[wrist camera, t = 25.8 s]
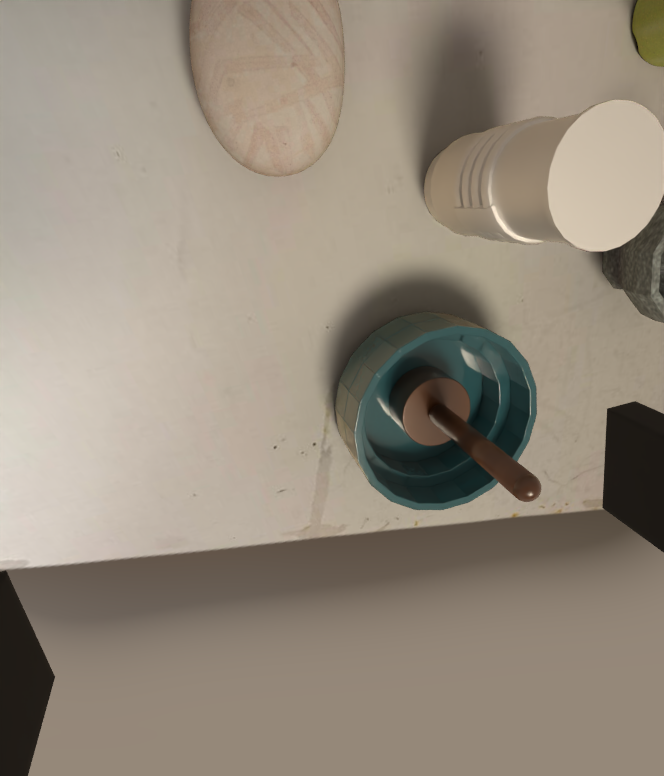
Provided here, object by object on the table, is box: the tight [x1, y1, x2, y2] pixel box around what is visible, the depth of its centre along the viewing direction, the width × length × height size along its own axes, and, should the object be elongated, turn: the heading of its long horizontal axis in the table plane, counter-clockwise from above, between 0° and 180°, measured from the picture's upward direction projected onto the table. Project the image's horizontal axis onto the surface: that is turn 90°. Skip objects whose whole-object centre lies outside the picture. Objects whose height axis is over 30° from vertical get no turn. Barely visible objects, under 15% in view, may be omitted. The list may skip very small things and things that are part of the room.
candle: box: [424, 100, 664, 252], centre depth 32 cm, size 7×7×15 cm
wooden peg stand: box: [389, 366, 541, 502], centre depth 36 cm, size 6×6×15 cm
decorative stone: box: [189, 0, 345, 176], centre depth 31 cm, size 13×9×5 cm
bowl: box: [335, 311, 537, 510], centre depth 41 cm, size 14×14×6 cm
